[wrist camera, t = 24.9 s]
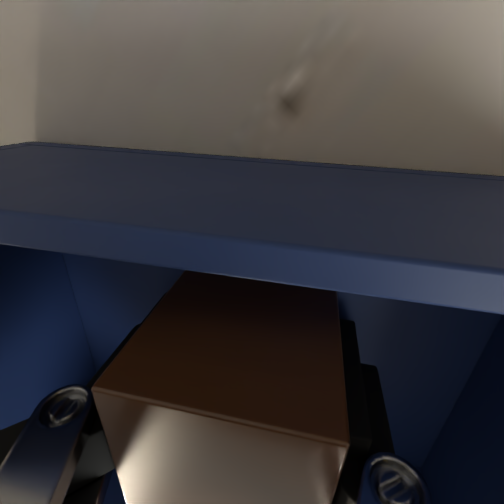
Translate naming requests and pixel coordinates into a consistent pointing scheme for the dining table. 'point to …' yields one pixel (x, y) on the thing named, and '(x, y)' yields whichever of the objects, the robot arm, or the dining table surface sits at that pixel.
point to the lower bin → (266, 278)
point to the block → (229, 396)
